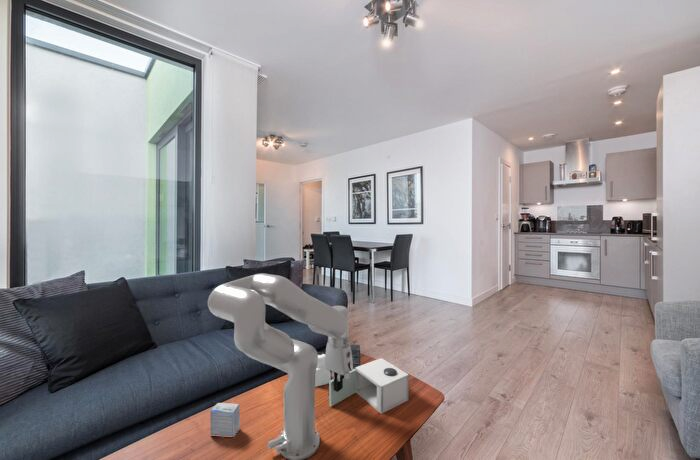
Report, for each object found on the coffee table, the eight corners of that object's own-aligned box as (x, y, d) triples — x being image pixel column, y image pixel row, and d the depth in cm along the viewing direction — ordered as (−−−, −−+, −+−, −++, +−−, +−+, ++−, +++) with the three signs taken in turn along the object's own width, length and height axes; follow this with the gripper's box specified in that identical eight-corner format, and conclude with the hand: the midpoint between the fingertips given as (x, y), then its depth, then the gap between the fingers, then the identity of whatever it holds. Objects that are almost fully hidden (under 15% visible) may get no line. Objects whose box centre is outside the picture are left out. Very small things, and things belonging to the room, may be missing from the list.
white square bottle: (309, 378, 123) (309, 351, 123) (325, 375, 126) (325, 348, 126) (314, 387, 117) (314, 359, 116) (330, 383, 120) (330, 355, 119)
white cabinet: (381, 413, 101) (381, 384, 100) (355, 391, 114) (355, 366, 113) (408, 399, 108) (408, 372, 108) (381, 380, 122) (381, 356, 121)
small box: (360, 365, 135) (360, 344, 134) (360, 372, 128) (360, 350, 128) (338, 365, 135) (338, 344, 134) (337, 372, 128) (337, 350, 128)
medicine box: (240, 429, 93) (240, 403, 93) (233, 439, 89) (233, 412, 89) (218, 427, 94) (217, 402, 94) (210, 437, 90) (209, 410, 89)
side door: (327, 404, 105) (327, 379, 105) (352, 390, 114) (352, 367, 114) (330, 406, 104) (330, 382, 104) (356, 392, 113) (356, 369, 112)
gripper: (360, 342, 101) (360, 392, 102) (329, 332, 110) (329, 378, 111) (347, 349, 95) (347, 402, 96) (316, 338, 104) (316, 386, 105)
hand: (338, 389), depth 103 cm, fingers closed
